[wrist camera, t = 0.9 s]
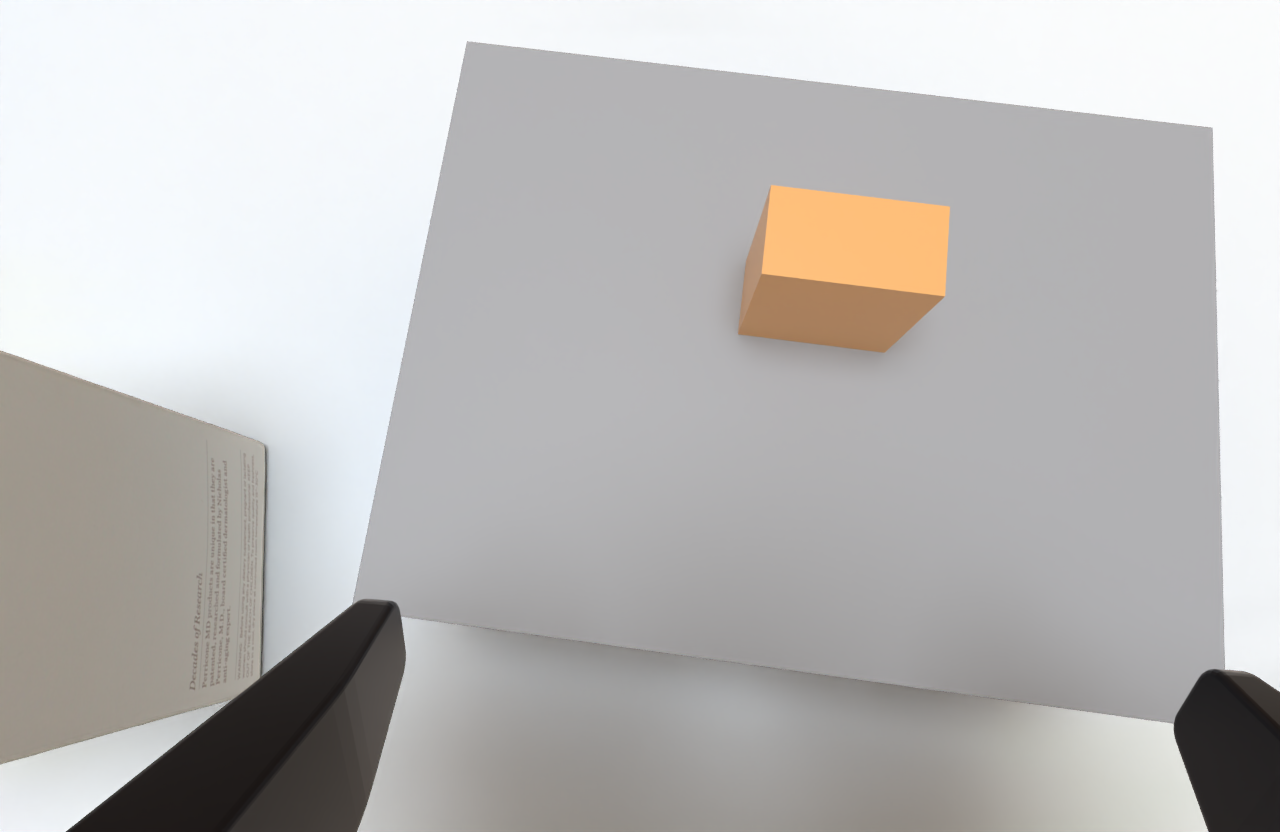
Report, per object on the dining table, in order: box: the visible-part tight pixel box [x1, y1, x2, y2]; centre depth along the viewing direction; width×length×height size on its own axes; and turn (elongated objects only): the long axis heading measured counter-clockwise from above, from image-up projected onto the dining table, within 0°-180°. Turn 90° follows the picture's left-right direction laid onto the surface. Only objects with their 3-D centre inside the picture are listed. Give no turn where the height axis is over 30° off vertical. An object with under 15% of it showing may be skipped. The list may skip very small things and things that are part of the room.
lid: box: [352, 41, 1225, 723], centre depth 14 cm, size 12×16×4 cm
